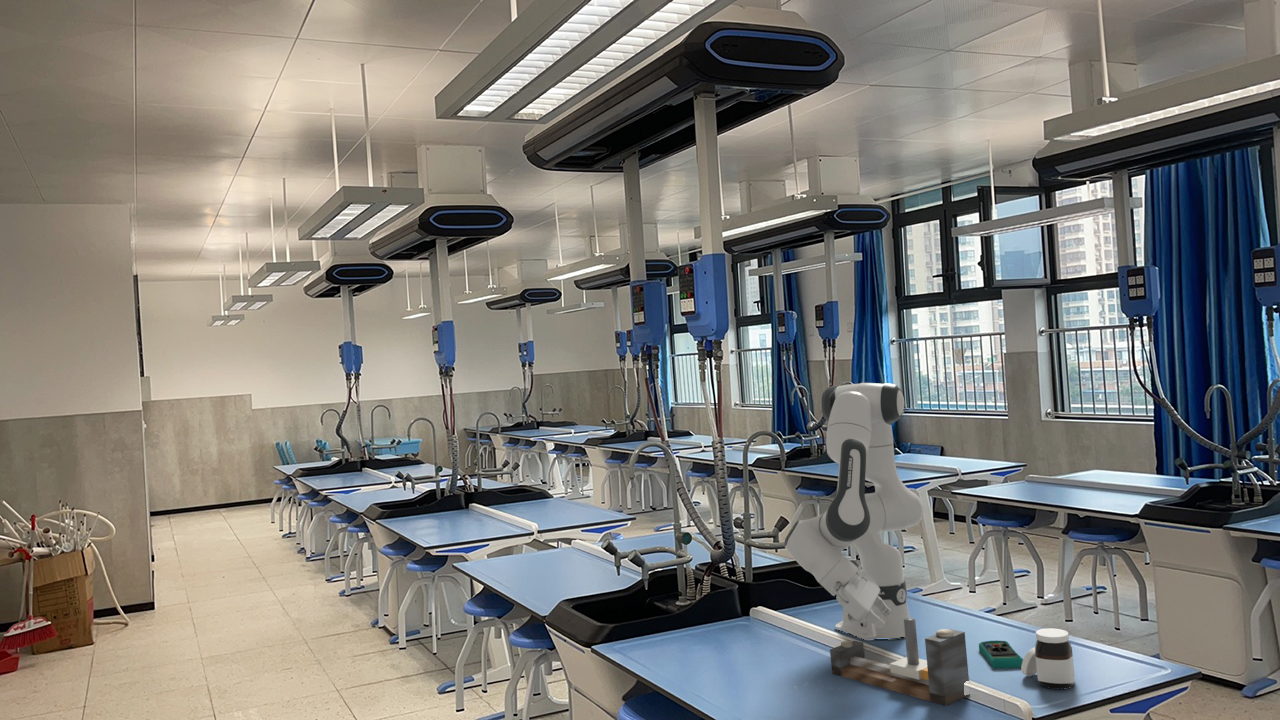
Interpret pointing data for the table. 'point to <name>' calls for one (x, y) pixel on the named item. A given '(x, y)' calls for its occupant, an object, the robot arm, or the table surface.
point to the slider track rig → (941, 687)
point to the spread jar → (1051, 659)
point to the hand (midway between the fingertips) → (886, 619)
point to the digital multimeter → (1000, 654)
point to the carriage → (909, 654)
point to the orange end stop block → (924, 673)
